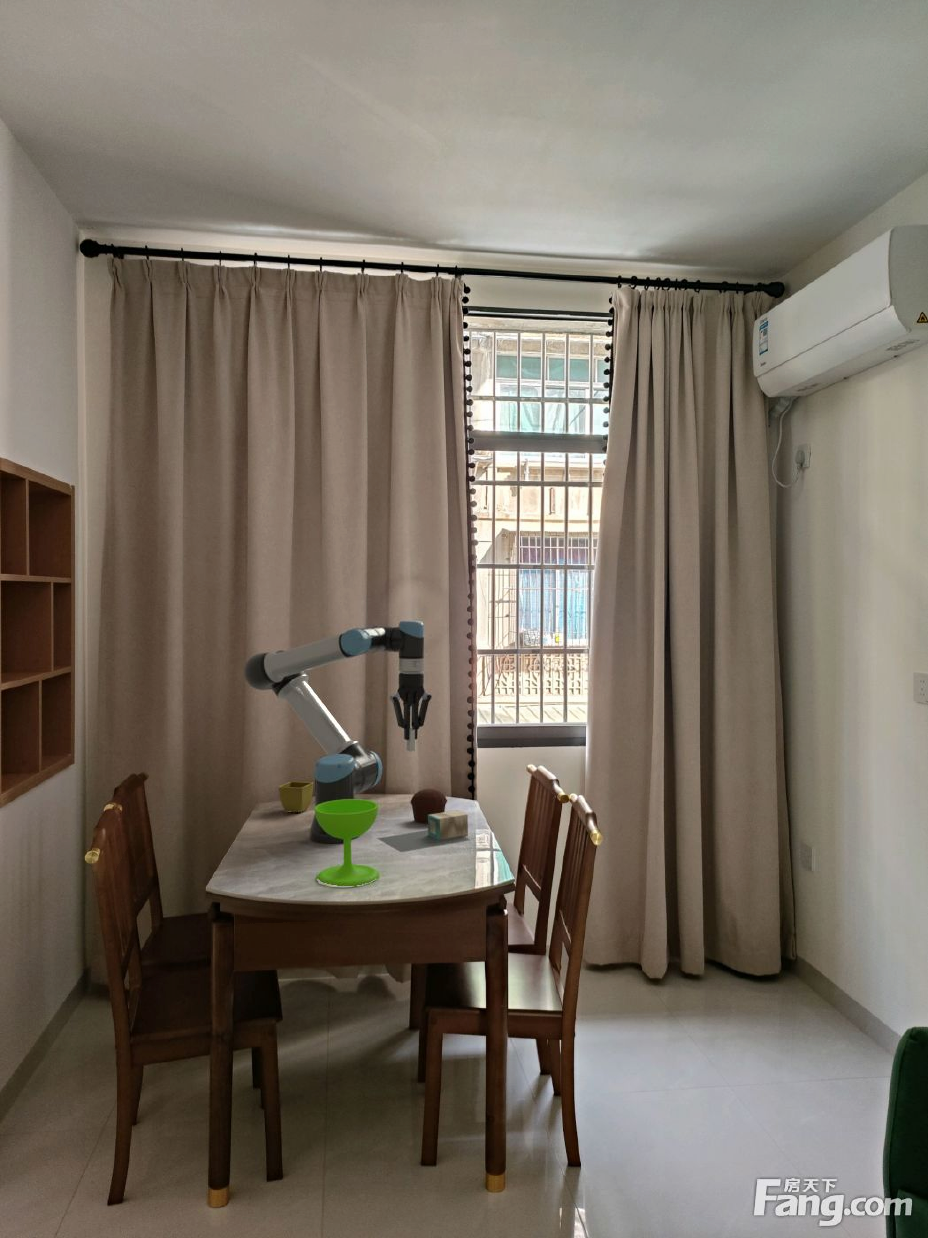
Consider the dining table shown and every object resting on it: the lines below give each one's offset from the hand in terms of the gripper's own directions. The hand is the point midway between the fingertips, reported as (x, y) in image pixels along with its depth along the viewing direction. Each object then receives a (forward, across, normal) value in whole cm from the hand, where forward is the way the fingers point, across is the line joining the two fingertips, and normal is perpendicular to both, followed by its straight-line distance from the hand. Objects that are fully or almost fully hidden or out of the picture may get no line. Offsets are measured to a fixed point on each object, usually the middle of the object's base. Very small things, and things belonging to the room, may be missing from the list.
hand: (410, 750), depth 259 cm
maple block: (+21, +2, -12) cm, 24 cm away
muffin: (+25, +9, +6) cm, 27 cm away
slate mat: (+24, -1, -12) cm, 27 cm away
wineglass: (+25, -31, -32) cm, 51 cm away
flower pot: (+26, -23, +41) cm, 54 cm away
